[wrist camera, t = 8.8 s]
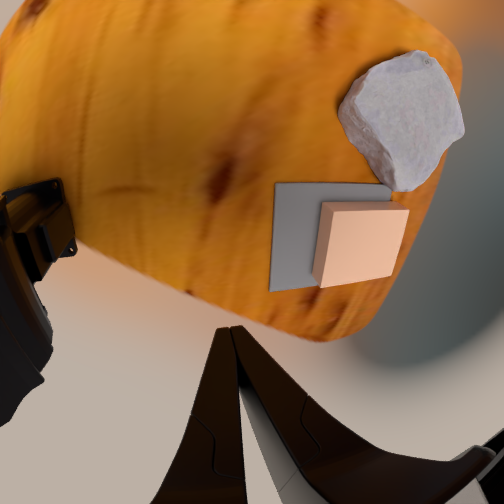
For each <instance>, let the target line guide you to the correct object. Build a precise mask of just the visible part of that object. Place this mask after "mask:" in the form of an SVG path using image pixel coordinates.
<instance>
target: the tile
mask: <svg viewBox="0 0 504 504" xmlns="http://www.w3.org/2000/svg"><path fill="white" fill-rule="evenodd" d="M408 214H409V209H407V208H406V207H404V206H403V205H401V204H399V203H398V202H396V201H355V202H322V208H321V216H320V224H319V231H318V238H317V245H316V252H315V258H314V264H313V271H312V276H313V277H314V279H315V280H316V282H317V283H318V285H319V286H320V288H323V287H330V286H336V285H342V284H348V283H354V282H360V281H365V280H371V279H376V278H382V277H387V276H391V274H392V271H393V268H394V265H395V261H396V258H397V255H398V252H399V248H400V245H401V241H402V238H403V234H404V230H405V226H406V222H407V218H408Z"/></svg>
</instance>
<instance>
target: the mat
mask: <svg viewBox="0 0 504 504" xmlns="http://www.w3.org/2000/svg"><path fill="white" fill-rule="evenodd" d="M391 192H392V190H391V189H389V188H388V187H387V186H386V185H384V184H373V183H337V182H295V183H275V194H274V213H273V231H272V248H271V264H270V280H269V292H274V291H281V290H289V289H296V288H303V287H310V286H316V285H318V283H317V282H316V280H315V279H314V277H313V276H312V271H313V264H314V258H315V252H316V245H317V238H318V231H319V224H320V216H321V208H322V202H355V201H390V197H391Z"/></svg>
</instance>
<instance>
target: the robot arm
mask: <svg viewBox="0 0 504 504" xmlns="http://www.w3.org/2000/svg"><path fill="white" fill-rule="evenodd" d="M54 182H56V183H57V187H55V186H54ZM6 196H7V198H6ZM74 234H75V232H74V228H73V224H72V220H71V216H70V211H69V207H68V204H67V203H66V201H65V196H64V191H63V186H62V182H61V180H60V179H59V178H52V179H47V180H43V181H39V182H35V183H31V184H28V185H24V186H20V187H17V188H13V189H10V190H7V191H5V192H3V193H2V196H0V427H1V426H3V425H4V424H6V423H7V422H9V421H10V420H11V418H12V416H13V415H14V413H15V411H16V409H17V407H18V405H19V404H20V402H21V401H22V400H23V398H24V397H25V396H26V395H27V394H28V393H29V392H30V391H31V390H32V389H34V388H36V387H37V386H39V385H40V384H42V383H43V382H44V378H43V376H42V375H41V374H40V372H41V371H42V370H43V368H44V367H45V365H46V364H47V363H48V361H49V359H50V357H51V354H52V352H53V346H52V345H51V344H52V336H53V330H52V327H51V323H50V321H49V319H48V317H47V310H46V308H45V306H43V305H42V303H41V301H40V299H39V297H38V294H37V292H36V290H35V288H34V284H35V283H36V282H37V281H42V279H43V277H44V276H45V274H46V273H47V271H48V269H49V268H50V266H51V265H52V263H55V262H56V261H57V259H58V258H63V257H70V256H74V255H75V254H76V253H77V250H78V249H77V245H76V241H75V238H74ZM70 248H72V249H73V251H71V250H70ZM239 392H240V395H241V398H242V401H243V404H244V406H245V409H246V412H247V415H248V418H249V420H250V423H251V426H252V429H253V431H254V434H255V437H256V439H257V442H258V445H259V447H260V450H261V452H262V455H263V457H264V460H265V462H266V465H267V467H268V470H269V472H270V475H271V477H272V480H273V482H274V485H275V487H276V489H277V492H278V494H279V496H280V499H281V501H282V503H283V504H504V428H503V429H502V430H500V431H499V432H498V433H497V434H495V435H494V436H493V437H492V438H490V439H489V440H488V441H487V442H486V443H485V444H483V445H482V446H478V445H474V446H472V447H470V448H468V449H467V450H465V451H464V452H462V453H461V454H460V455H458V456H456V457H455V458H453V459H452V460H450V461H436V460H429V459H422V458H416V457H410V456H405V455H399V454H394V453H391V452H387V451H384V450H382V449H380V448H378V447H376V446H374V445H372V444H371V443H369V442H368V441H366V440H365V439H363V438H362V437H360V436H359V435H357V434H356V433H354V432H353V431H352V430H350V429H349V428H347V427H346V426H345V425H343V424H342V423H340V422H339V421H338V420H337V419H335V418H334V417H333V416H331V415H330V414H329V413H328V412H327V411H326V410H324V409H323V408H322V407H321V406H320V405H319V404H318V403H317V402H316V401H315V400H314V399H313V398H311V396H308V394H307V393H306V392H305V391H304V390H303V389H302V388H301V387H300V386H299V385H298V384H297V383H296V382H295V380H294V379H293V378H292V377H291V376H290V375H289V374H288V373H286V371H285V370H284V369H283V368H282V367H281V366H280V365H279V364H278V363H277V362H276V361H275V360H274V359H273V358H272V357H271V356H270V355H269V354H268V352H267V351H265V349H264V348H263V347H262V346H261V345H260V344H259V343H258V342H257V341H256V340H255V338H253V336H252V335H251V334H250V333H249V332H248V331H247V330H246V329H245V328H244V327H243V326H242V325H239V326H231V327H230V328H229V327H223V328H217V329H216V332H215V335H214V338H213V341H212V344H211V348H210V351H209V354H208V358H207V361H206V364H205V367H204V371H203V374H202V377H201V380H200V384H199V387H198V390H197V394H196V397H195V400H194V404H193V407H192V410H191V415H190V417H189V420H188V423H187V427H186V430H185V433H184V435H183V439H182V441H181V444H180V446H179V448H178V450H177V453H176V455H175V457H174V459H173V461H172V464H171V466H170V468H169V470H168V472H167V474H166V476H165V478H164V480H163V482H162V484H161V487H160V488H159V490H158V492H157V494H156V495H155V497H154V498H153V500H152V501H151V503H150V504H248V502H247V493H246V482H245V470H244V469H245V468H244V457H243V443H242V429H241V415H240V400H239Z"/></svg>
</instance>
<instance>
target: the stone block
mask: <svg viewBox="0 0 504 504" xmlns="http://www.w3.org/2000/svg"><path fill="white" fill-rule="evenodd" d="M338 118H339V120H340V122H341V124H342V126H343V128H344V130H345V133H346V135H347V137H348V139H349V141H350V142H351V143H352V144H353V145H354V146H355V147H356V148H357V149H358V151H359V152H360V153H362V154H363V155H364V156H365V158H366V160H367V161H368V164H369V165H370V168H371V169H372V170H373V172H374V174H375V175H376V176H377V178H378V179H379V181H381V182H382V183H383V184H384V185H386V186H387V187H388V188H389V189H391V190H392V191H396V192H397V191H401V192H405V191H406V192H407V191H413V190H414V189H415V188H417V187H418V186H419V185H421V184H423V183H424V182H425V180H426V179H427V178H428V177H429V176H430V174H431V173H432V172H433V171H434V169H435V168H436V167H437V165H438V163H439V160H440V157H441V155H442V154H443V152H444V151H445V149H447V148H448V147H449V146H450V145H451V143H452V142H454V141H456V140H458V139H460V138H461V137H462V136H463V134H464V131H465V128H464V123H463V120H462V113H461V110H460V106H459V104H458V100H457V97H456V94H455V92H454V89H453V86H452V85H451V82H450V80H449V78H448V76H447V75H446V73H445V72H444V70H443V69H442V67H441V66H440V64H439V63H438V62H437V60H436V59H435V58H432V57H429V55H428V54H427V53H426V52H423V51H419V50H412V51H410V52H408V53H405V54H403V55H401V56H397V57H394V58H392V59H391V60H387V61H384V62H381V63H380V64H378V65H375V66H373V67H371V68H370V69H369V70H368V71H367V72H366V73H365V74H364V75H362V76H360V77H359V78H358V79H356V80H355V81H354V82H353V84H352V86H351V88H350V90H349V91H348V93H347V94H346V96H345V98H344V100H343V102H342V103H341V104H340V107H339V110H338Z"/></svg>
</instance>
